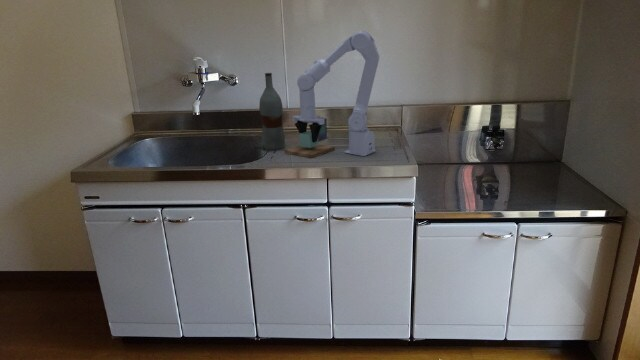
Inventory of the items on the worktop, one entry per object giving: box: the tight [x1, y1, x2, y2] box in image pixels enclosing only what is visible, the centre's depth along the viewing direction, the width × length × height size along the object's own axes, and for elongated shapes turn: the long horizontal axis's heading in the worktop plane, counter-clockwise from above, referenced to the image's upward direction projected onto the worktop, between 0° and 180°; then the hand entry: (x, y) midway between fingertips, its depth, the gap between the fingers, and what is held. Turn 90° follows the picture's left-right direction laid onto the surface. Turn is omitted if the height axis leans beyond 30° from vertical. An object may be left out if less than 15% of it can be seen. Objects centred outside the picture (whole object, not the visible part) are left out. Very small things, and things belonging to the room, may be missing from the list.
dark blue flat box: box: [311, 114, 328, 143], centre depth 190 cm, size 9×3×11 cm, turn 146°
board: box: [284, 143, 336, 159], centre depth 173 cm, size 14×14×1 cm
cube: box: [299, 130, 319, 148], centre depth 172 cm, size 5×5×5 cm
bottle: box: [259, 72, 286, 151], centre depth 177 cm, size 9×9×30 cm
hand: (309, 140), depth 172 cm, fingers closed on cube, 5 cm apart
